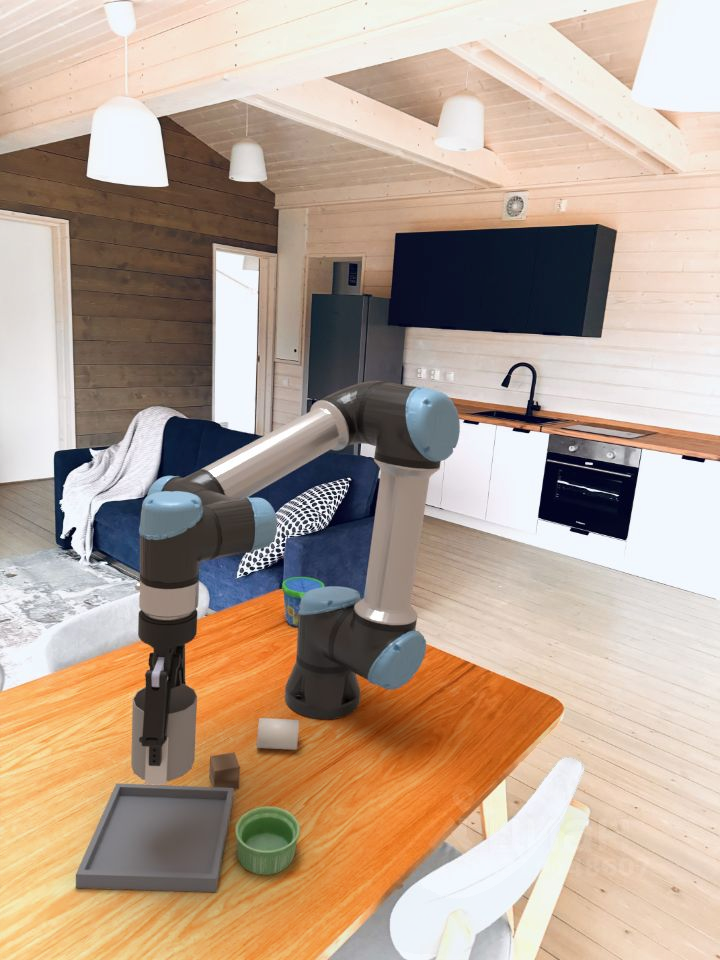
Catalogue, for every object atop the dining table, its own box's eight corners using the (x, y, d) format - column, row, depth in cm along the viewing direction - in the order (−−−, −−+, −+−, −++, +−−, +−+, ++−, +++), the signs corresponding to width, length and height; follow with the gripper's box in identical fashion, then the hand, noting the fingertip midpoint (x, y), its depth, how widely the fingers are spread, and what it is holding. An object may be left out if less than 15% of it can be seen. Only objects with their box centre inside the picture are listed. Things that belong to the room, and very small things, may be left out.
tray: (233, 799, 108) (233, 788, 108) (216, 892, 91) (216, 878, 90) (116, 795, 107) (116, 783, 106) (75, 888, 89) (75, 874, 89)
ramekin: (243, 827, 103) (245, 802, 102) (302, 836, 102) (305, 811, 101) (225, 873, 94) (227, 846, 93) (290, 884, 93) (292, 856, 92)
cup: (203, 751, 99) (206, 688, 97) (177, 787, 91) (180, 719, 89) (149, 739, 101) (151, 677, 98) (119, 774, 93) (120, 707, 90)
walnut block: (233, 773, 114) (234, 752, 114) (238, 788, 111) (239, 766, 110) (209, 777, 113) (210, 756, 112) (213, 793, 109) (214, 771, 108)
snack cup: (322, 636, 167) (325, 597, 165) (278, 635, 166) (281, 595, 163) (320, 610, 182) (323, 574, 180) (280, 608, 181) (283, 572, 179)
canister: (297, 740, 125) (299, 714, 125) (296, 755, 120) (298, 728, 120) (258, 738, 125) (260, 712, 124) (256, 753, 120) (258, 726, 119)
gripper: (158, 578, 101) (154, 716, 106) (116, 643, 80) (113, 812, 85) (209, 581, 102) (203, 719, 106) (181, 647, 81) (175, 814, 86)
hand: (163, 760), depth 96 cm, fingers closed on cup, 8 cm apart
